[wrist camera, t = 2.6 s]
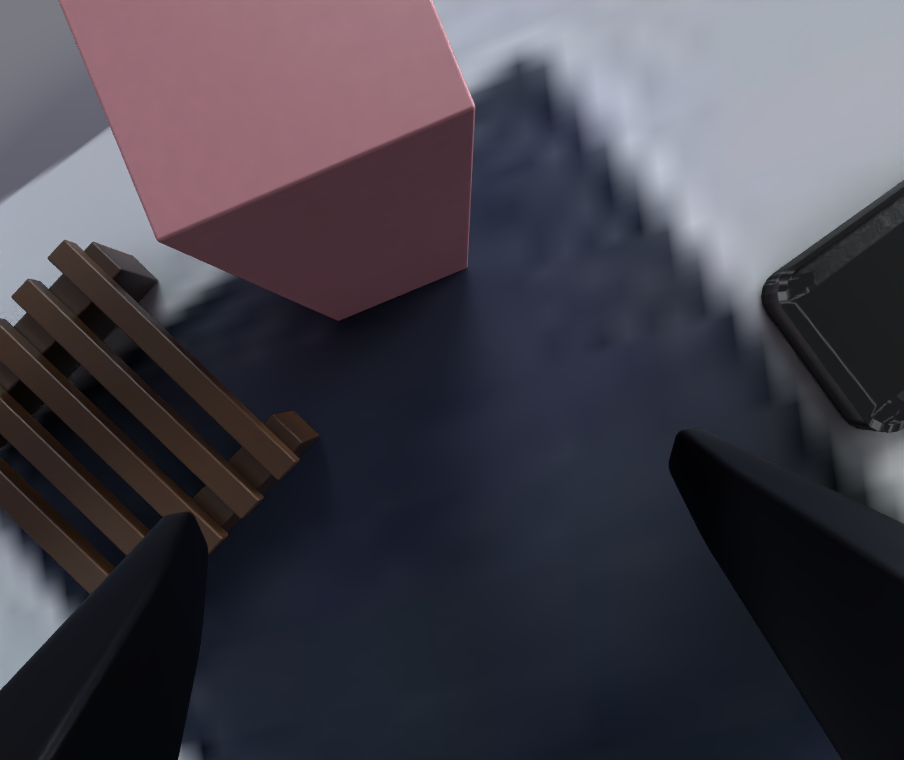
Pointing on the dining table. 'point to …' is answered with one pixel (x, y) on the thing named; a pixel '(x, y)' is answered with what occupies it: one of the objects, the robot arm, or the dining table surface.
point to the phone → (850, 313)
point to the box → (291, 138)
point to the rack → (80, 342)
